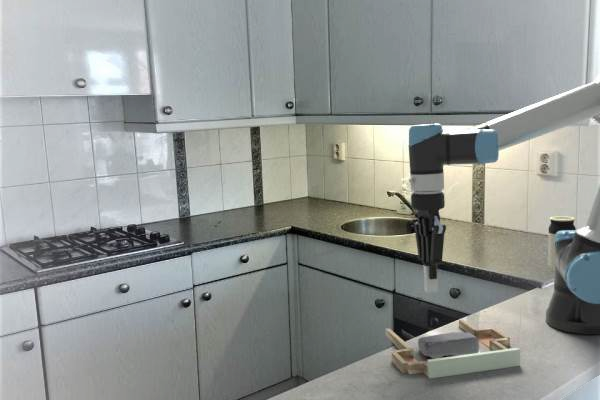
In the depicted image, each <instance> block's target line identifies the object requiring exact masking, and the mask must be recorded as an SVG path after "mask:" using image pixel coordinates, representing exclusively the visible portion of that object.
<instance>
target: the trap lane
mask: <svg viewBox="0 0 600 400" xmlns="http://www.w3.org/2000/svg"><path fill="white" fill-rule="evenodd" d="M458 328H460V329H462V330H463V331H465V333H471V334H472V335H474V336H476V337H477V338H478V342H479V343H481V344H483V345H484V346H486V347H487V348H488V349H490V351H483V352H478V353H474V354H466V355H459V356H446V357H445V356H443V357H440V358H437V359H433V358H430V359H427V360H420V361H418V360H417V359H416V358H415V351H414V349H413V348H412V347H411V346H410V345H409V344H408V343H406V341H405V340H403V339H402V338H401V337H400V336H399V335H397V333H395V332H394V331H393V330H392V329H391V328H385V337H386V338H388V339H389V340H390V341H391V342H392V344H394V346H396V348H398V349H395V350H394V351H393V352H391V362H392V364H393V365H395V367H397V369H398V370H399V371H400V372H401V373H402V374H406V373H407V374H409V375H416V374H424V375H426V376H427V377H428V379H436V378H443V377H451V376H452V377H453V376H458V375H464V374H472V373H479V372H485V371H487V372H488V371H493V370H500V369H506V368H507V369H508V368H513V367H520V366H521V349H520V348H519V347H513V348H509V347H510V345H511V343H510V342H511V339H510V338H511V337H510V336H509V335H506V334H505V333H504V332H502V331H501V330H499V329H497V328H491V327H483V328H482V327H481V328H476V326H473V325H472V324H470V323H469V322H467V321H465V320H464V319H458Z"/></svg>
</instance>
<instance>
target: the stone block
mask: <svg viewBox="0 0 600 400" xmlns="http://www.w3.org/2000/svg"><path fill="white" fill-rule="evenodd" d="M417 341H418V342H417V346H418V349H419V352H420V353H421V354H422V355H423V356H425V357H429V358H430V359H437V358H443V357H445V356H446V357H452V356H459V355H466V354H474V353H480V341H478V338H477V337H476V336H474V335H472V334H471V333H467V332H461V331H456V332H455V331H453V332H445V333H440V334H435V335H434V334H433V335H429V336H422V337H420V338H418V339H417Z"/></svg>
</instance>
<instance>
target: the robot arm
mask: <svg viewBox="0 0 600 400" xmlns="http://www.w3.org/2000/svg"><path fill="white" fill-rule="evenodd" d="M596 116H600V74H598V75H597V76H596V79H595V80H594V81H592V82H590V83H586V84H584V85H580V86H578V87H576V88H573V89H571V90H568V91H566V92H563V93H560V94H558V95H555V96H552V97H549V98H546V99H544V100H542V101H540V102H537V103H534V104H530V105H529V106H525V107H523V108H521V109H518V110H515V111H513V112H510V113H508V114H505V115H502V116H500V117H496V118H495V119H492V120H489V121H487V122H485V123H484V122H483V123H481V124H478V125H475V126H474V127H471V128H467V129H464V130H457V131H443V130H444V129H443V126H442V124H441V123H431V124H430V123H429V124H427V123H426V124H415V125H412V126H410V128H409V129H408V156H409V158H408V159H409V160H408V161H409V173H410V175H409V176H410V178H409V179H408V182H409V183H410V190H411V192H412V193H411V194H410V203H411V205H410V206H411V209H412V210H415V211H417V212H416V214H417V215H416V216H417V217H415V218H412V223H413V224H412V225H413V228H414V234H415V241H416V242H415V243H416V247H417V249H416V250H417V256H418V259H419V260H421V263H422V264H423V285H424V287H423V288H424V292H425V293H427V294H431V293H437V292H439V283H438V265H440V264H442V263H443V255H444V254H443V253H444V242H445V241H444V240H445V233H446V230H447V226H446V224H442V223H441V215H440V212H439V211H440V210H442V209H444V208H445V205H446V204H445V203H446V202H445V193H444V192H443V191H444V189H445V172H444V166H451V165H477V164H478V165H479V164H480V165H484V164H491V163H492V164H493V163H496V162H498V160H499V152H500V151H502V150H506V149H508V148H511V147H514V146H516V145H519V144H521V143H524V142H527V141H531V140H533V139H536V138H538V137H541V136H544V135H546V134H549V133H552V132H555V131H557V130H561V129H563V128H566V127H568V126H569V127H570V126H572V125H575V124H578V123H580V122H583V121H586V120H588V119H591V118H594V117H596ZM554 245H555V260H554V272H553V273H554V274H553V275H554V276H553V277H554V278H553V292H552V294H551V295H552V296H551V298H550V301H549V304H548V307H547V308H546V311H545V322H546V324H547V325H549V326H550V327H551V328H554V329H555V330H559V331H562V332H567V333H572V334H577V335H579V334H580V335H600V185H599V186H598V189H597V193H596V195H595V198H594V201H593V203H592V207H591V210H590V212H589V215H588V218H587V222H586V223H585V226H583V227H581V228H579V229H576V230H563V231H558V232H557V233H556V235H555V241H554Z"/></svg>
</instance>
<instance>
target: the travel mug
mask: <svg viewBox="0 0 600 400" xmlns="http://www.w3.org/2000/svg"><path fill="white" fill-rule="evenodd" d="M549 220H550V224H549V227H548V244H547V245H548V247H547V248H548V249H547V252H548V253H547V266H548V265H549V266H551V267H554V260H555V245H554V241H555V235H556V233H557V232H558V231H563V230H577V228H576V227H575V226H576V225H575V224H574V223H575V220H576V218H575V217H573V216H568V215H554V216H550V217H549Z"/></svg>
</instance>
